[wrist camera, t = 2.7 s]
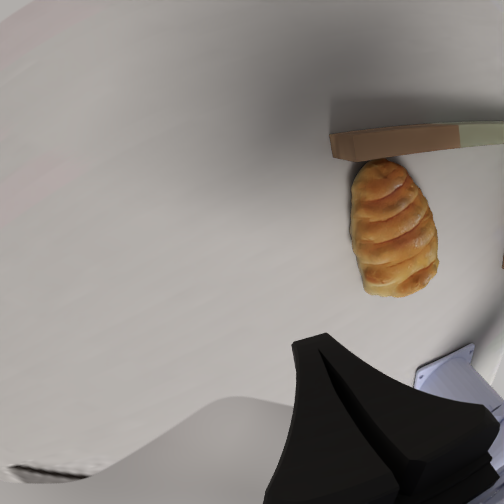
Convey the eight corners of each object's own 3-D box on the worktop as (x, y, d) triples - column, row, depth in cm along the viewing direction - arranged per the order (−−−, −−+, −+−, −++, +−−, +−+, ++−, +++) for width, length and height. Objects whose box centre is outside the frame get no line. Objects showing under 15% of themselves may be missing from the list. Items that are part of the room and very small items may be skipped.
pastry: (320, 179, 20) (344, 188, 16) (401, 143, 20) (434, 146, 16) (361, 293, 23) (384, 319, 20) (429, 254, 23) (458, 272, 20)
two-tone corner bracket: (510, 264, 25) (532, 277, 22) (351, 326, 24) (369, 352, 21) (512, 121, 20) (539, 124, 16) (329, 134, 19) (352, 134, 15)
